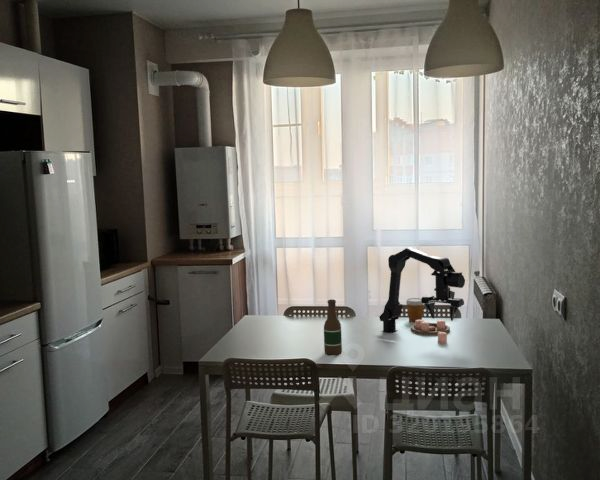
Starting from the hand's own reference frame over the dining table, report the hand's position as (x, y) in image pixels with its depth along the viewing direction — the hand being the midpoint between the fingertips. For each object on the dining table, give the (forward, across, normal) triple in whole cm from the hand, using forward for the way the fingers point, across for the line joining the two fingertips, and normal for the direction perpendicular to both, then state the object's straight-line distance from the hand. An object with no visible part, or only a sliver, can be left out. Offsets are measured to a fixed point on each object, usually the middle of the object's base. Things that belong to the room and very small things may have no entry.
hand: (442, 319), depth 275 cm
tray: (+11, +15, -16) cm, 24 cm away
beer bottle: (+11, +33, +40) cm, 53 cm away
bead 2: (+11, 0, +1) cm, 11 cm away
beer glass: (+11, +31, -29) cm, 44 cm away
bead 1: (+10, +10, -17) cm, 23 cm away
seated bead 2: (+10, +15, -10) cm, 21 cm away
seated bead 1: (+10, +19, -13) cm, 25 cm away
